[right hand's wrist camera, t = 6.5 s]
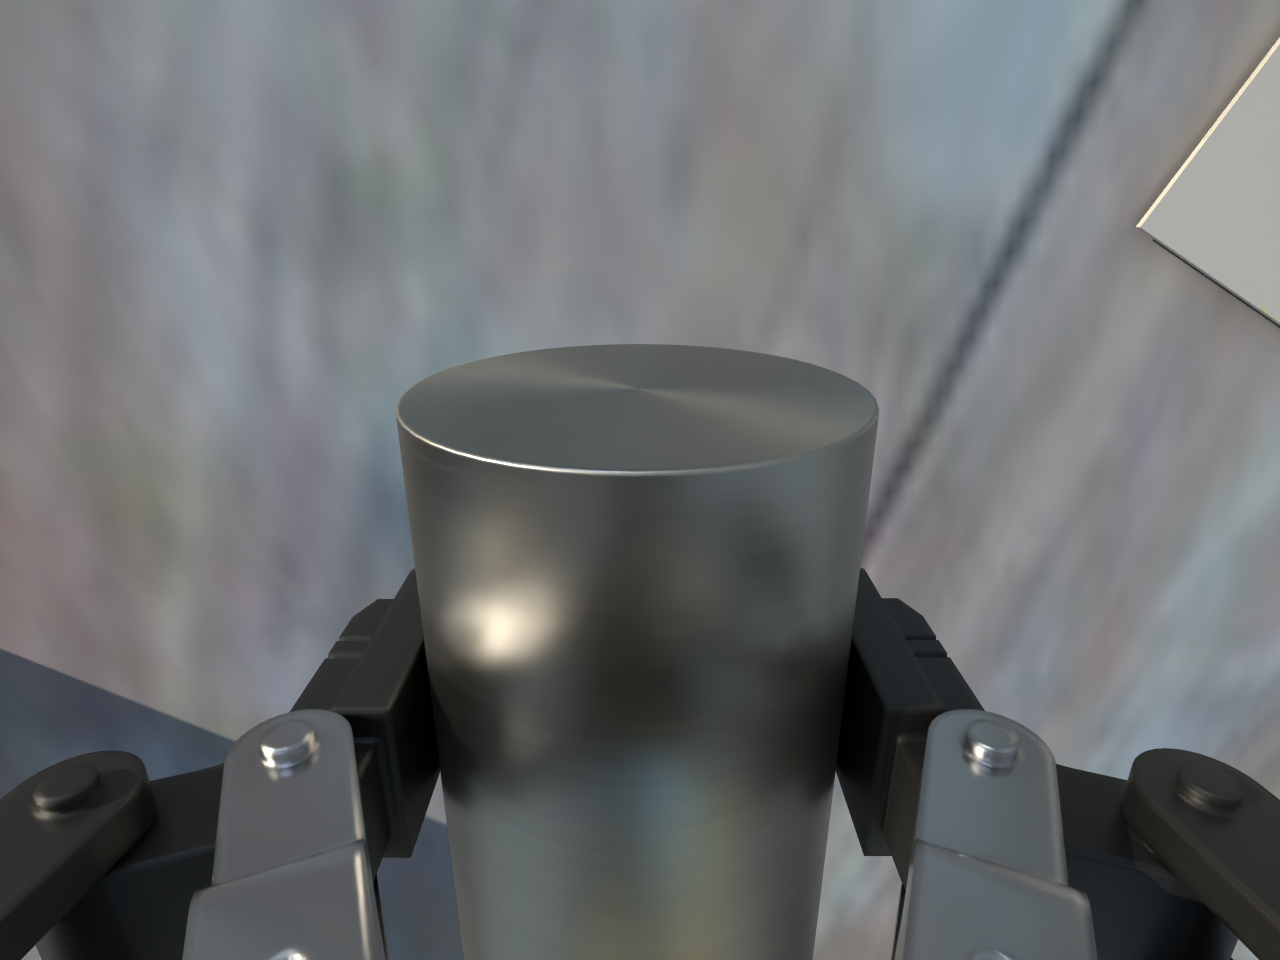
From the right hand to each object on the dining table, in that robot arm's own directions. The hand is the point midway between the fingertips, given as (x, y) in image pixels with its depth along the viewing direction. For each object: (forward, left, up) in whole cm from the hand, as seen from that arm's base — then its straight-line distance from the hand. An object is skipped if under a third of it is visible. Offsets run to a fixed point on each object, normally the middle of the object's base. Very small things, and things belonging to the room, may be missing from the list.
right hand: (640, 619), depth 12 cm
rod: (+5, +8, -1) cm, 10 cm away
